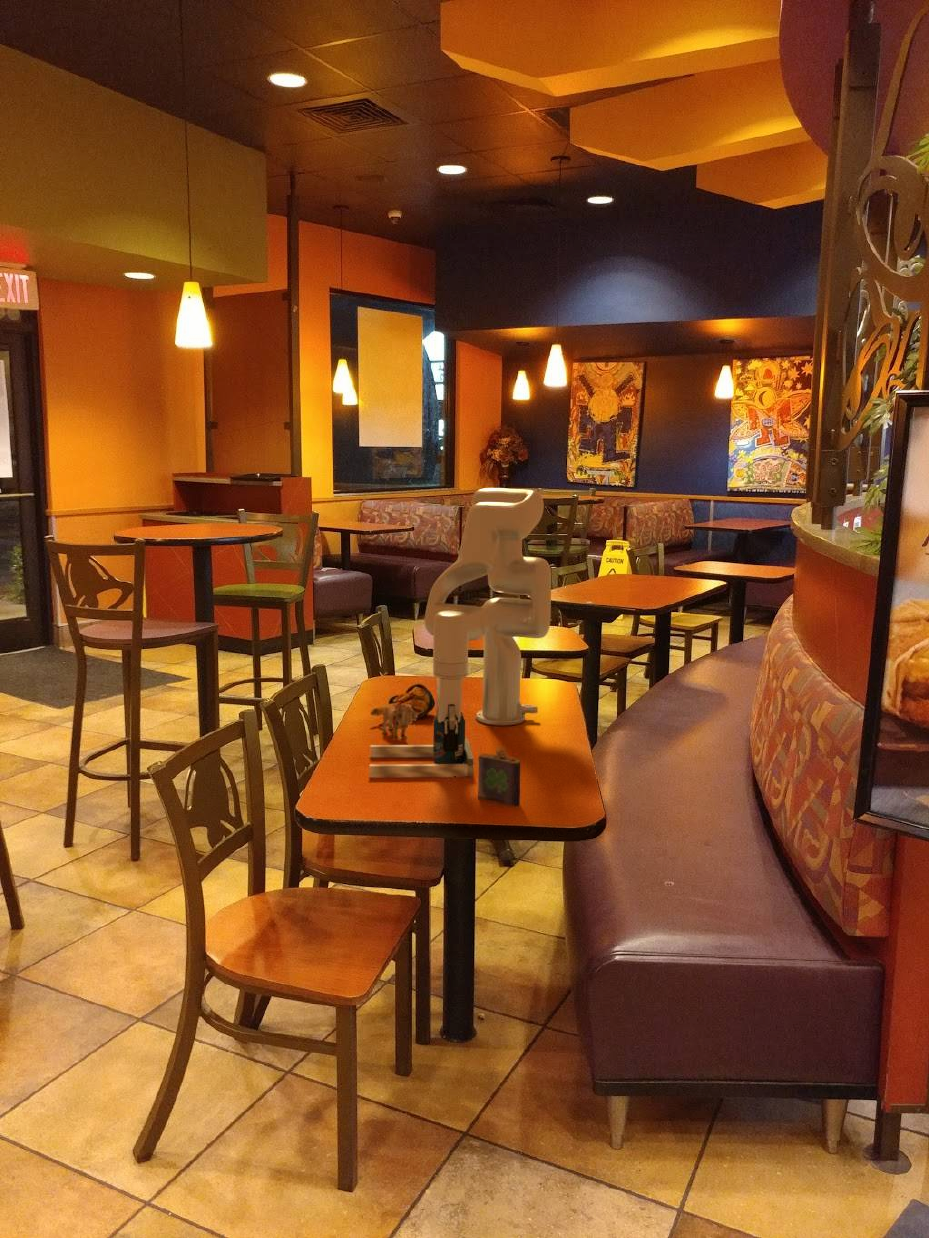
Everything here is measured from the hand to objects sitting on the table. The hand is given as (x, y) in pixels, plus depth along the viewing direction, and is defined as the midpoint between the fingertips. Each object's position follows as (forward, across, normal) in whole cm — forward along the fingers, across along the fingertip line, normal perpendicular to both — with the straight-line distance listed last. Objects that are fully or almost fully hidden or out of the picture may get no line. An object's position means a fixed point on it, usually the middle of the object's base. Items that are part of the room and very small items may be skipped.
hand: (449, 743), depth 214 cm
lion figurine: (+5, -22, -11) cm, 25 cm away
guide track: (+5, 0, -6) cm, 8 cm away
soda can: (+5, 0, 0) cm, 5 cm away
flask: (+5, +21, +9) cm, 24 cm away
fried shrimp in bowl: (+6, -37, -9) cm, 38 cm away
